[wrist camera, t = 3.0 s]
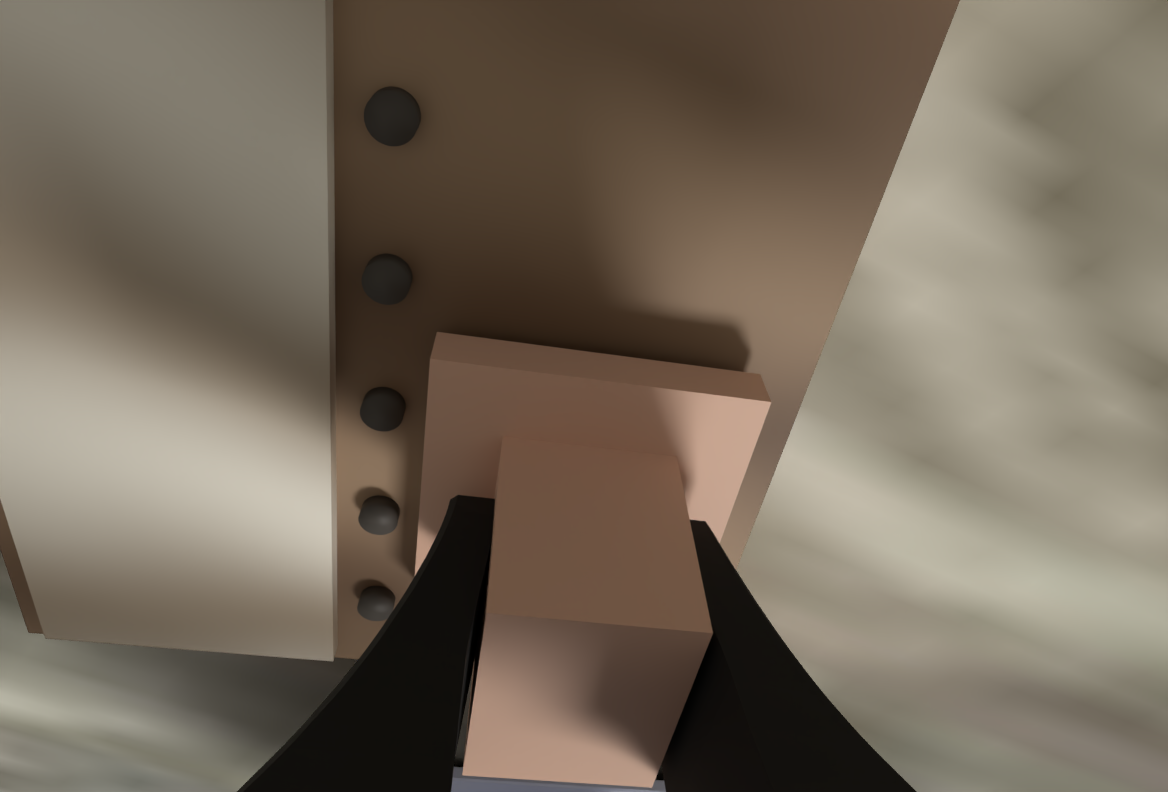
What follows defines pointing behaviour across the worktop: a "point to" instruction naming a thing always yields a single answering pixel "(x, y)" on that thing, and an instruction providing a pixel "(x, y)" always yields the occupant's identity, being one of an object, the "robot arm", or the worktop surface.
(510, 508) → the peach plate with block
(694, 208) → the board
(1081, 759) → the worktop surface
